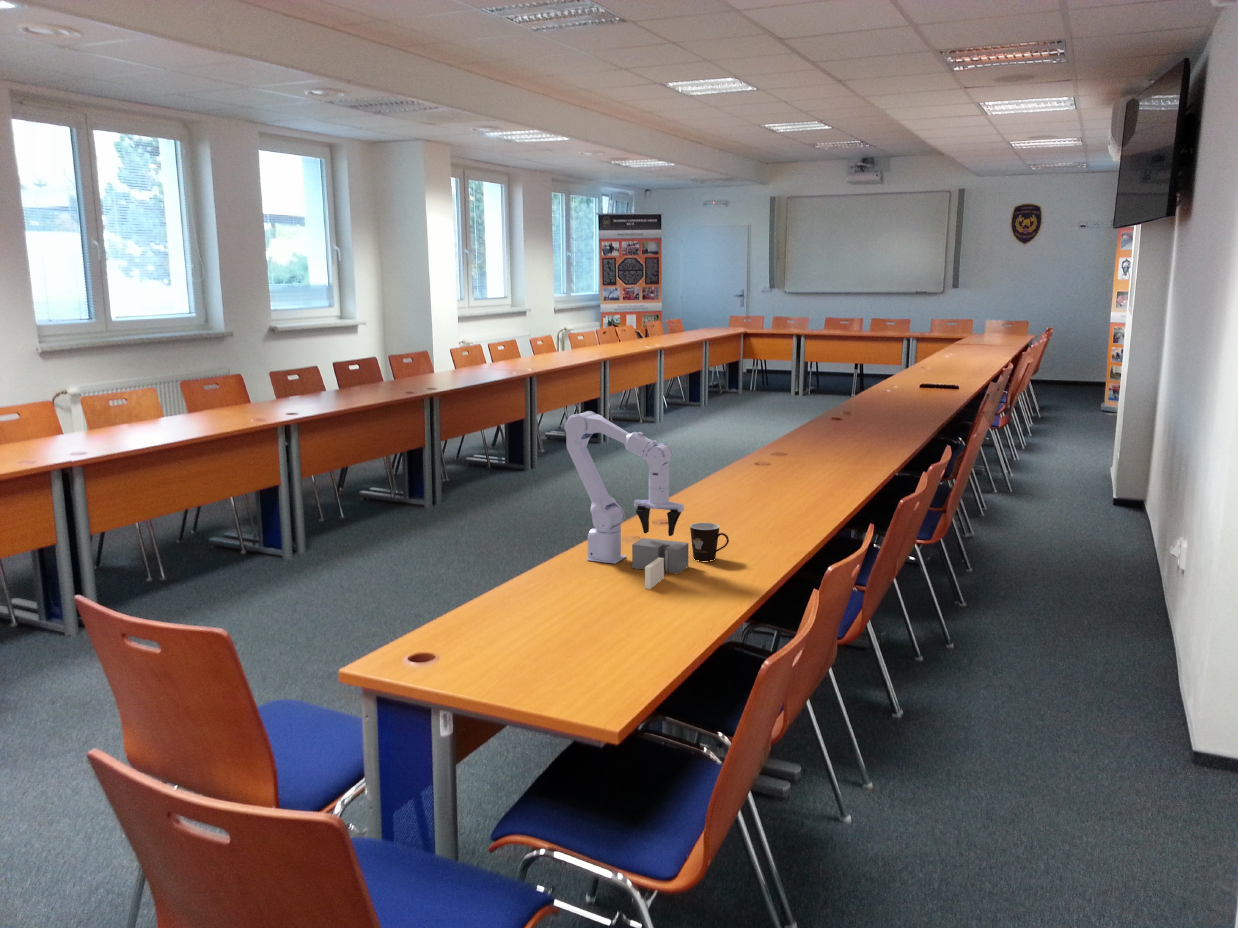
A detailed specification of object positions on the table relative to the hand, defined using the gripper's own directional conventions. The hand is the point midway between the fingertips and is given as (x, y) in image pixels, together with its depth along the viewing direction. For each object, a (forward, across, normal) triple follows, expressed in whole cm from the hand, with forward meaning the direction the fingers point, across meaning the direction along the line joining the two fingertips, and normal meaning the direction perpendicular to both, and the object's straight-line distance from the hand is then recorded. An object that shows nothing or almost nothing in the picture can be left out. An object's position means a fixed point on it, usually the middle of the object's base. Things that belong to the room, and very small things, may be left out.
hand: (658, 533), depth 265 cm
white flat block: (+10, +6, -16) cm, 20 cm away
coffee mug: (+10, +11, +11) cm, 18 cm away
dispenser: (+9, +1, -2) cm, 10 cm away
